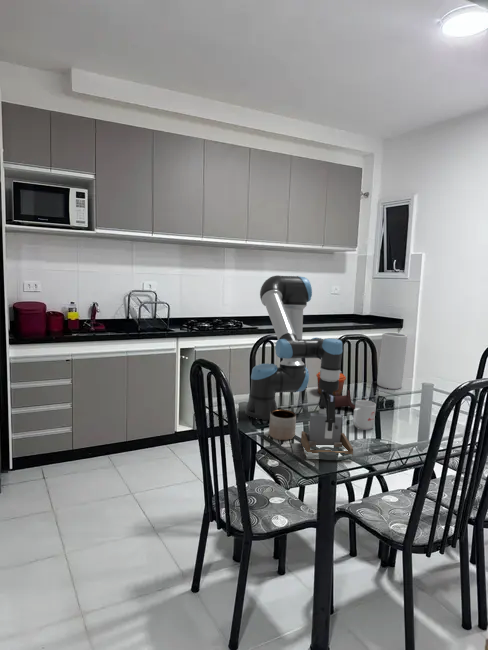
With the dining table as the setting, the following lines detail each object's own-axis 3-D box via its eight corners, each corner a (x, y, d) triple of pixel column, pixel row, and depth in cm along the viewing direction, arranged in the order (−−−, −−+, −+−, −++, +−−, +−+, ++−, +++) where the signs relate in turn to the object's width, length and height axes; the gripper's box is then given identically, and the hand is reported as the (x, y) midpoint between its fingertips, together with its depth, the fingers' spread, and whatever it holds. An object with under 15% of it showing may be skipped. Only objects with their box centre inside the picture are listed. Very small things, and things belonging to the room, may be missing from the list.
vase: (381, 389, 266) (387, 336, 261) (373, 382, 280) (378, 331, 275) (405, 390, 267) (412, 337, 262) (395, 383, 281) (401, 332, 276)
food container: (317, 387, 262) (319, 369, 261) (345, 391, 258) (347, 373, 256) (312, 395, 247) (314, 375, 246) (342, 399, 243) (344, 380, 241)
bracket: (369, 408, 222) (366, 388, 225) (334, 411, 225) (331, 391, 228) (368, 409, 228) (365, 389, 231) (334, 412, 231) (331, 392, 234)
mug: (360, 421, 211) (363, 398, 210) (377, 428, 205) (380, 404, 203) (344, 427, 204) (347, 403, 202) (361, 433, 197) (364, 409, 195)
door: (309, 446, 178) (312, 416, 176) (307, 441, 182) (310, 413, 180) (340, 447, 179) (342, 418, 177) (337, 443, 183) (340, 414, 181)
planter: (292, 431, 196) (294, 409, 194) (296, 441, 185) (298, 419, 184) (267, 430, 195) (269, 408, 194) (269, 440, 185) (271, 417, 183)
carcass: (306, 459, 170) (307, 446, 169) (300, 443, 184) (301, 431, 183) (351, 461, 170) (353, 448, 169) (342, 444, 184) (343, 433, 184)
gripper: (347, 389, 164) (341, 444, 168) (332, 370, 189) (327, 419, 192) (326, 388, 164) (321, 443, 168) (314, 370, 189) (310, 419, 192)
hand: (324, 431), depth 180 cm, fingers open, 13 cm apart
